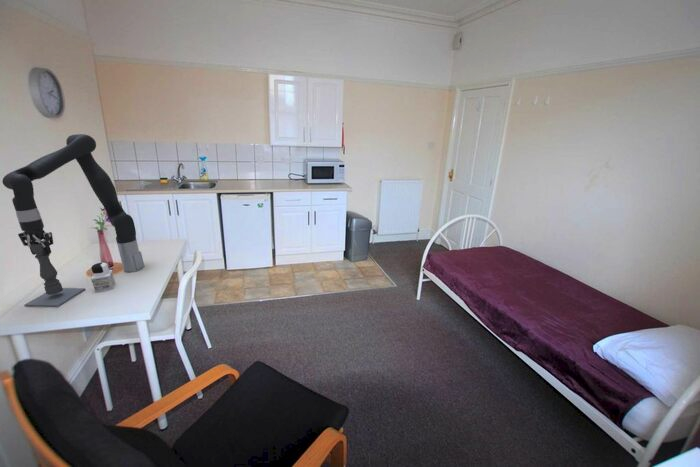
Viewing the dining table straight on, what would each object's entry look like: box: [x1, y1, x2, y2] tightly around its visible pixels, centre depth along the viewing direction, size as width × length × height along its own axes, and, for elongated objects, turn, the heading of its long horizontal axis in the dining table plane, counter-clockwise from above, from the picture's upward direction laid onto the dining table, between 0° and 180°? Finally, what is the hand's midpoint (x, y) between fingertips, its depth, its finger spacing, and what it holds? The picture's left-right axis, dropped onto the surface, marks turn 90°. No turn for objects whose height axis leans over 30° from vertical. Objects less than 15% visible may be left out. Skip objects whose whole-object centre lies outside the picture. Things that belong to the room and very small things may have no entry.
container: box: [90, 262, 116, 293], centre depth 168 cm, size 8×8×13 cm
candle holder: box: [30, 241, 64, 295], centre depth 155 cm, size 6×6×25 cm
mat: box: [23, 287, 86, 308], centre depth 160 cm, size 16×16×1 cm
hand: (41, 253), depth 153 cm, fingers closed on candle holder, 5 cm apart
